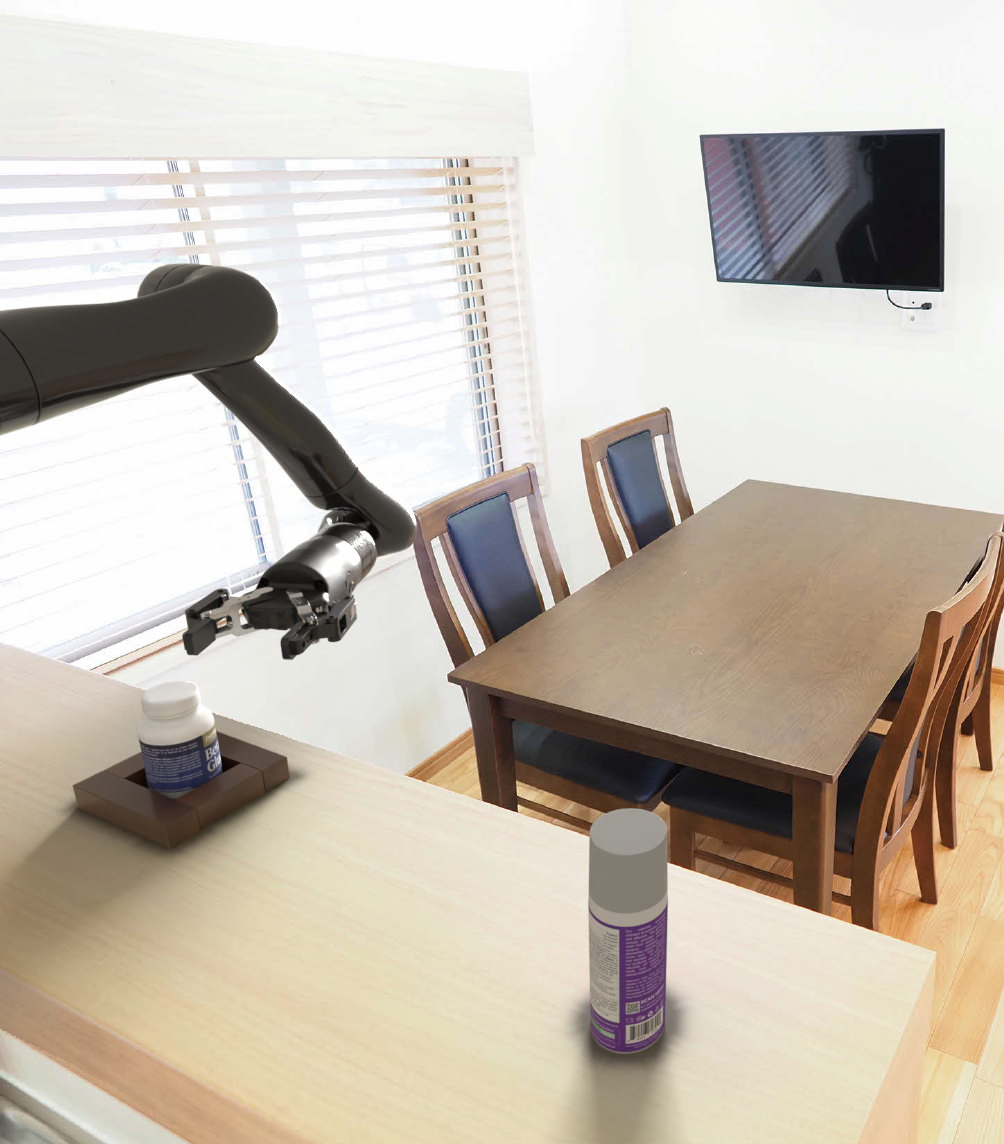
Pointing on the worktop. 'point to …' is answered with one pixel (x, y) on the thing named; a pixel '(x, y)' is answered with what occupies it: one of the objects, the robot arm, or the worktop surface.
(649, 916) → the container
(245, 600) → the robot arm
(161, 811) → the frame
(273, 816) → the worktop surface
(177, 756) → the pill bottle
